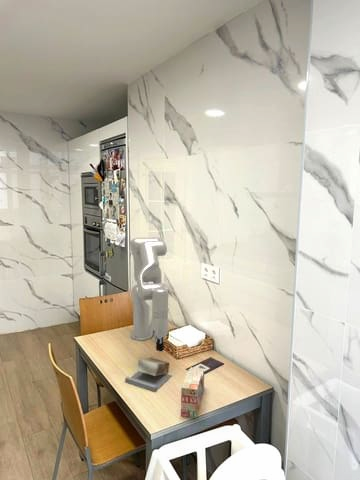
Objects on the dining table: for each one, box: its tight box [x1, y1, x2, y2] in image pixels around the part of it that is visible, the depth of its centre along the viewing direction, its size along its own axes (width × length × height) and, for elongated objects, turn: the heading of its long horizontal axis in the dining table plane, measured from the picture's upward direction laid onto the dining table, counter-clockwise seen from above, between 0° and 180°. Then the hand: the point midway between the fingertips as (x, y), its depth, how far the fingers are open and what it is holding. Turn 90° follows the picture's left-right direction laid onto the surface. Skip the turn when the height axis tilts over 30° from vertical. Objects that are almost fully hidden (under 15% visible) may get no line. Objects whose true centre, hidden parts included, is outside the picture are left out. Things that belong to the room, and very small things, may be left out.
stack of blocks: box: [180, 366, 205, 419], centre depth 142 cm, size 21×6×12 cm, turn 168°
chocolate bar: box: [185, 357, 225, 375], centre depth 171 cm, size 9×1×18 cm
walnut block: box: [136, 357, 170, 376], centre depth 161 cm, size 5×10×12 cm
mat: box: [124, 371, 173, 393], centre depth 159 cm, size 15×16×2 cm
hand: (159, 350), depth 165 cm, fingers closed
